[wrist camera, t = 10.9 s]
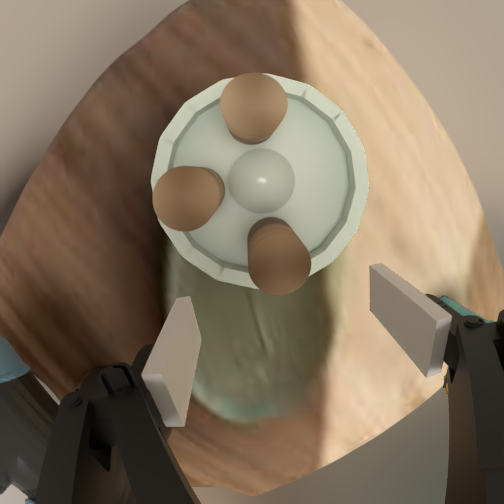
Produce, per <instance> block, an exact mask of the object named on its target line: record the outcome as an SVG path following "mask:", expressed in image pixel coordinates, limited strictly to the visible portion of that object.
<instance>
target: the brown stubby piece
mask: <svg viewBox="0 0 504 504" xmlns="http://www.w3.org/2000/svg"><path fill="white" fill-rule="evenodd" d="M247 246H248V271H249V275H250V278H251V280H252V282H253V283H254V284H255V285H256V286H257V287H258V288H259V289H260V290H262V291H263V292H265V293H268V294H271V295H286V294H289V293H292V292H294V291H296V290H297V289H299V288H300V287H301V286H302V285H303V284H304V283H305V282H306V280H307V278H308V277H309V274H310V271H311V257H310V254H309V251H308V249H307V248H306V246H305V245H304V244H303V242H302V241H301V240H300V239H299V237H298V236H297V235H296V233H295V232H294V231H293V229H292V228H291V227H290V226H289V224H288V223H286V222H285V221H284V220H282V219H280V218H277V217H266V218H263V219H260V220H259V221H257V222H256V223H255V224H254V225H253V226H252V227H251V229H250V231H249V233H248V238H247Z"/></svg>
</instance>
